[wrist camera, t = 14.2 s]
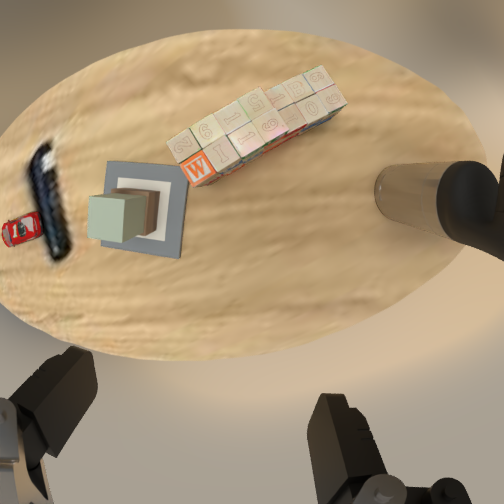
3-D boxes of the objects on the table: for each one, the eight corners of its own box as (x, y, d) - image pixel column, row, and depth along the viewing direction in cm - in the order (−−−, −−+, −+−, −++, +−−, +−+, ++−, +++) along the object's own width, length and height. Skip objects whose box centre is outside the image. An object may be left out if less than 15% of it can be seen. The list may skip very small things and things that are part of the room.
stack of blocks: (309, 86, 38) (328, 54, 26) (330, 119, 40) (357, 98, 28) (188, 152, 41) (163, 141, 29) (209, 186, 42) (191, 188, 30)
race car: (10, 247, 45) (-2, 251, 41) (5, 222, 44) (-7, 225, 40) (47, 236, 44) (34, 241, 40) (42, 208, 43) (29, 211, 39)
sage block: (146, 196, 36) (124, 199, 30) (143, 232, 38) (122, 243, 31) (114, 193, 36) (89, 196, 29) (112, 228, 37) (87, 237, 31)
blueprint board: (190, 167, 41) (181, 165, 36) (180, 257, 45) (170, 268, 39) (110, 161, 41) (91, 159, 35) (103, 244, 44) (85, 253, 38)
